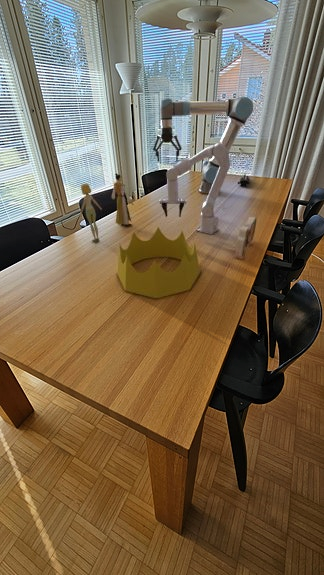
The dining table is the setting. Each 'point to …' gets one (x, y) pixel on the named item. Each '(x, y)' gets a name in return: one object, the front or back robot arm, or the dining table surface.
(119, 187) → the figurine
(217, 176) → the front robot arm
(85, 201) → the sculpture
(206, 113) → the back robot arm
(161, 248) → the crown
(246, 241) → the cutout
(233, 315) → the dining table surface
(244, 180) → the toy
